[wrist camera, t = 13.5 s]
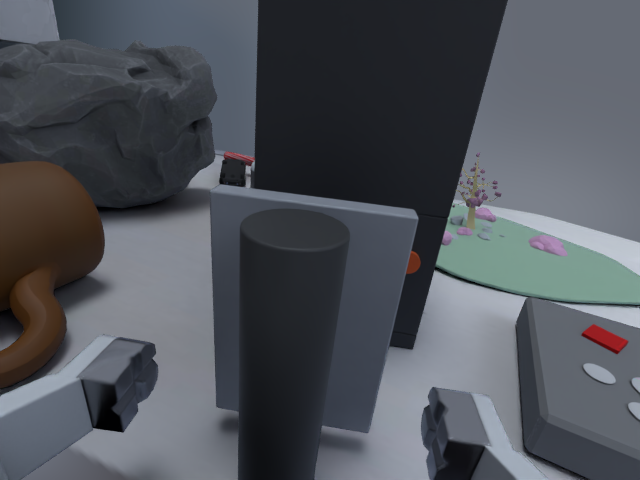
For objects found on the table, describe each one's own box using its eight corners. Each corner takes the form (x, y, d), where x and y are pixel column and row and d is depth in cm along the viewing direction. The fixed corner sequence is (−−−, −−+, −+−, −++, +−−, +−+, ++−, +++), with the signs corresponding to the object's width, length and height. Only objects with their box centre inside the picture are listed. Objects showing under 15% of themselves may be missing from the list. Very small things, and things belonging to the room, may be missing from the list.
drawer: (162, 524, 10) (117, 225, 6) (276, 275, 23) (284, 135, 19) (371, 564, 9) (463, 273, 6) (364, 288, 23) (390, 147, 19)
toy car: (246, 158, 50) (245, 171, 51) (222, 156, 50) (222, 170, 51) (246, 178, 44) (245, 193, 45) (218, 176, 43) (218, 192, 44)
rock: (199, 168, 47) (184, 44, 40) (241, 202, 37) (231, 45, 30) (-8, 195, 35) (-81, 26, 28) (-24, 253, 26) (-142, 19, 19)
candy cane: (235, 157, 56) (236, 148, 56) (322, 177, 56) (324, 168, 55) (221, 161, 50) (222, 151, 50) (318, 183, 50) (320, 173, 49)
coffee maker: (248, 327, 20) (257, -81, 12) (287, 247, 30) (304, 0, 23) (413, 353, 19) (527, -59, 12) (394, 262, 29) (448, 13, 22)
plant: (608, 243, 40) (646, 166, 36) (705, 349, 22) (797, 221, 19) (398, 198, 48) (412, 133, 45) (349, 249, 31) (364, 148, 27)
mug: (175, 253, 19) (-59, 362, 11) (147, 335, 22) (-40, 460, 14) (31, 133, 20) (-262, 148, 12) (28, 227, 24) (-196, 285, 16)
